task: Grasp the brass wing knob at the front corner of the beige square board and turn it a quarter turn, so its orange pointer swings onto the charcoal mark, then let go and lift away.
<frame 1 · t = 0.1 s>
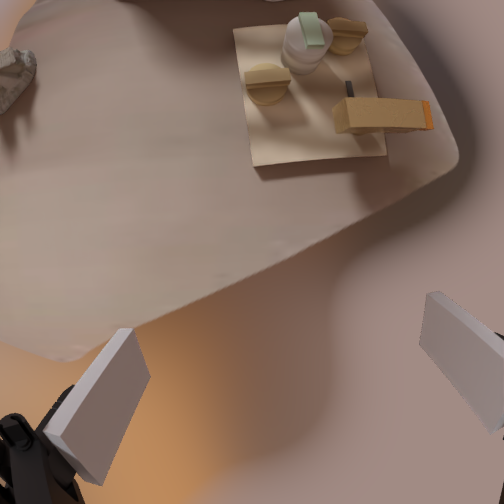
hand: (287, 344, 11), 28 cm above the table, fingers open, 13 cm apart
beige square board: (309, 89, 34), on the table
ceramic cottage: (9, 77, 31), on the table
wing knob: (374, 120, 28), point 7 cm above the table, hinge at 0.0°
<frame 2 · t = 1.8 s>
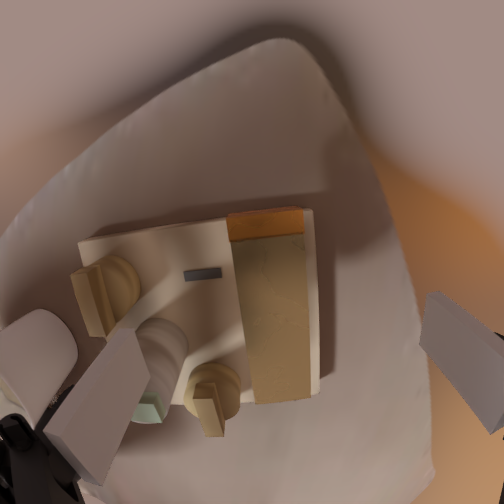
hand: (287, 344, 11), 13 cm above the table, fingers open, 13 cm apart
candle holder: (52, 338, 27), on the table
beige square board: (205, 319, 26), on the table
wing knob: (269, 285, 17), point 7 cm above the table, hinge at 0.0°
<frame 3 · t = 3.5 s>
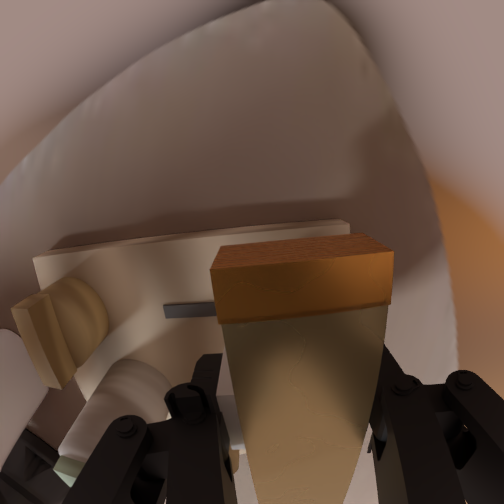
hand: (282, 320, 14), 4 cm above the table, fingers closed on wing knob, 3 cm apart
candle holder: (21, 362, 20), on the table
beige square board: (195, 360, 19), on the table
wing knob: (289, 348, 10), point 7 cm above the table, hinge at 0.1°, touching gripper
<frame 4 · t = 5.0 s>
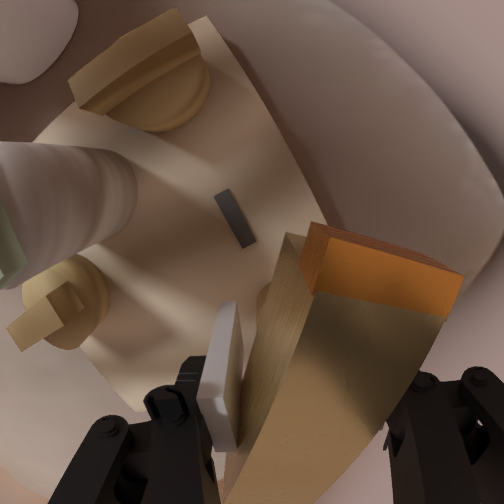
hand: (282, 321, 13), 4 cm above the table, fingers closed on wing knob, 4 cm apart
candle holder: (41, 39, 13), on the table
beige square board: (157, 239, 17), on the table
wing knob: (294, 345, 10), point 7 cm above the table, hinge at 48.2°, touching gripper
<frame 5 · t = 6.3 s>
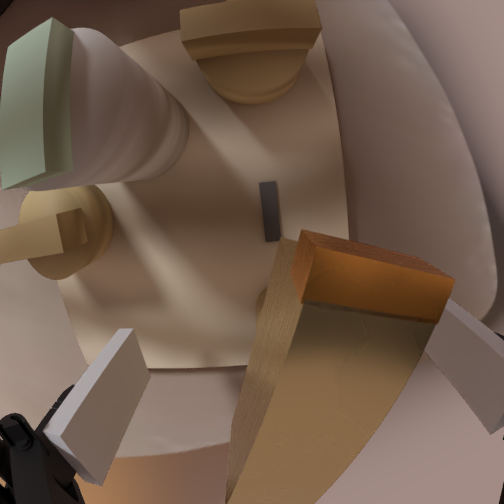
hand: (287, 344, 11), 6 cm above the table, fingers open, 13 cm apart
beige square board: (180, 201, 16), on the table
wing knob: (292, 348, 11), point 7 cm above the table, hinge at 71.1°
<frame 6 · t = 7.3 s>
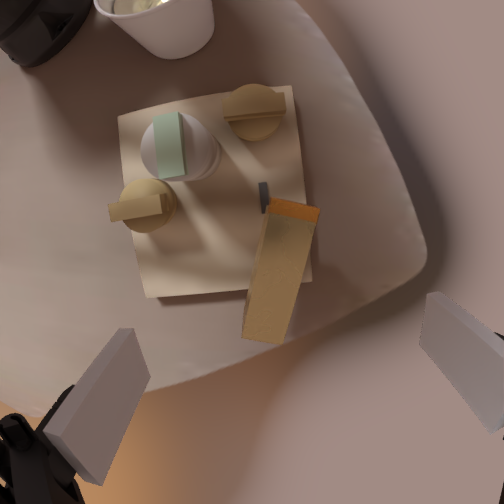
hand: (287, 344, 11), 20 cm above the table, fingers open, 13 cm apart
candle holder: (179, 31, 25), on the table
beige square board: (214, 193, 29), on the table
wing knob: (274, 258, 23), point 7 cm above the table, hinge at 71.4°
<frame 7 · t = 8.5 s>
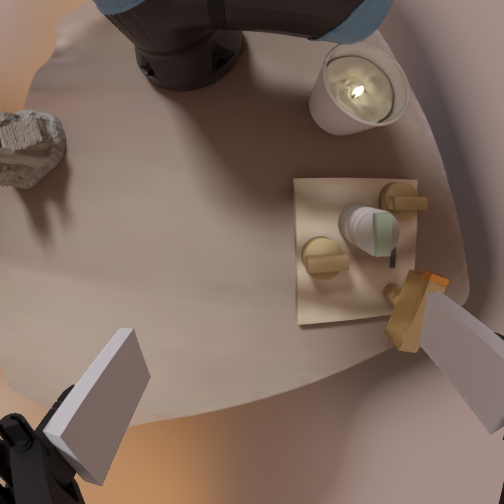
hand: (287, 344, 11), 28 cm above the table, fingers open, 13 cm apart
candle holder: (337, 108, 35), on the table
beige square board: (356, 249, 39), on the table
ceramic cottage: (31, 143, 36), on the table
wing knob: (407, 300, 33), point 7 cm above the table, hinge at 71.4°
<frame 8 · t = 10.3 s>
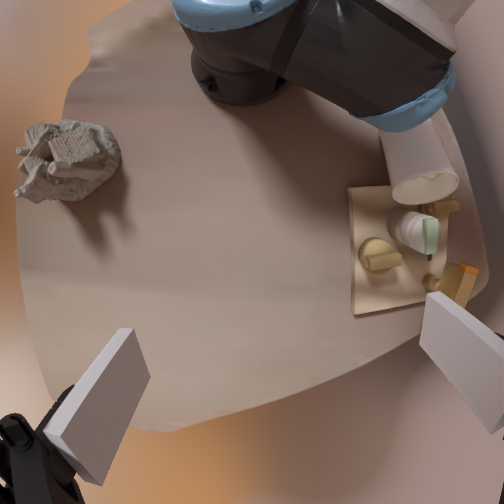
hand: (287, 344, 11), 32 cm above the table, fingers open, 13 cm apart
candle holder: (401, 117, 34), point 3 cm above the table, touching beige square board
beige square board: (400, 245, 43), on the table
ceramic cottage: (77, 154, 40), on the table
wing knob: (444, 287, 37), point 7 cm above the table, hinge at 71.4°
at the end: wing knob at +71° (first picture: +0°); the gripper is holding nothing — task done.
